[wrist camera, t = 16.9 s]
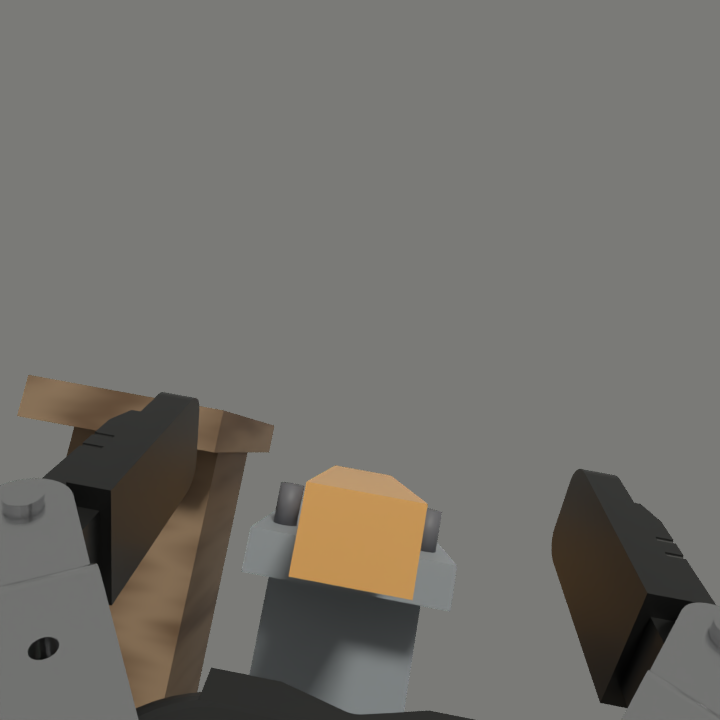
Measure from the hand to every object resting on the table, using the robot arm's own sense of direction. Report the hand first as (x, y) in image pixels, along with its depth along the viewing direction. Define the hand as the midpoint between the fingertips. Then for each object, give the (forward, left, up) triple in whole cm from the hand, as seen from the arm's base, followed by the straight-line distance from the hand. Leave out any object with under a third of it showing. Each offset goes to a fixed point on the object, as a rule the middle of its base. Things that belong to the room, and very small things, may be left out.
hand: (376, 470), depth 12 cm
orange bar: (0, -18, -4) cm, 18 cm away
